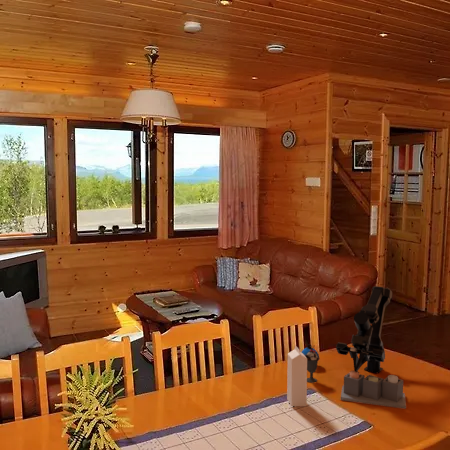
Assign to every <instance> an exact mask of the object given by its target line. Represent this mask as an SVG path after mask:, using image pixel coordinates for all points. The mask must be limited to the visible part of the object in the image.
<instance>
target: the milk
mask: <svg viewBox="0 0 450 450" xmlns="http://www.w3.org/2000/svg"><path fill="white" fill-rule="evenodd" d="M286 373H287V374H286V375H287V377H286V378H287V381H286V382H287V383H286V384H287V385H286V389H287V391H286V401H287V400H288V401H289V402H288V401H287V402H288V404H289V403H290V404H289V405H290V407H291V406H300V407H307V404H308V403H307V400H308V399H307V398H308V396H307V395H308V393H307V392H308V388H307V387H308V386H307V385H308V382H307V378H308V377H307V376H308V370H307V358H306V356H305V355H304V354H303V353H302V351H301V350H300V349H299V347H298V346H296V345H295V346H294V349H293V350H291V351H289V352H288V353H287V371H286Z"/></svg>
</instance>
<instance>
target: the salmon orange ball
mask: <svg viewBox="0 0 450 450" xmlns="http://www.w3.org/2000/svg"><path fill="white" fill-rule="evenodd" d="M349 373H350V377H351V378H355V379H358V378H359V374H360V371H359V370H358V371H357V372H355V371H354V370H350V371H349Z"/></svg>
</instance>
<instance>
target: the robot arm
mask: <svg viewBox="0 0 450 450" xmlns="http://www.w3.org/2000/svg"><path fill="white" fill-rule="evenodd" d="M370 293H371V294H370V296H369V299H368V301H367V304H365V305H364V306H362V307H361V309H360V310H359V311H358V312H357V313H355V315H353V322H354V323H355V327H356V329H357V331H356V334H352V336H351V341H350V343H351V346H350V347H349V345H348V344H347V343H345V342H337V343H336V345H335V350H336V352H337V353H338V354H339V355H343V356H347V355H348V354H349V356H350V357H351V358H350V359H352V361H353V362H352V363H353V371H355V372H357V371H358V372H359V370H360V369H361V367H362V366H363V365H364V364H365V363H366V366H365V367H364V368H363V370H364V371H367V372H371V373H374V374H379V373H380V372H381V371H383V369H384V368H383V367H381V363H384V362H385V359H386V350H385V348H384V343H383V341H382V339H381V335H382V328H383V324H384V323H383V322H384V316H385V311H386V307H387V306H388V305H389V304H390V303H391V299H392V298H393V291H392V290H391V289H390V288H389V287H384V286H378V285H375V286H372V288H371V292H370Z"/></svg>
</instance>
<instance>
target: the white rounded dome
mask: <svg viewBox="0 0 450 450" xmlns="http://www.w3.org/2000/svg"><path fill="white" fill-rule="evenodd" d="M387 377H388V382H391V383H395V384H397V383H398V379H399V377H398V376H397V375H396V374H395V375H394V374H389V375H387Z"/></svg>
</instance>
